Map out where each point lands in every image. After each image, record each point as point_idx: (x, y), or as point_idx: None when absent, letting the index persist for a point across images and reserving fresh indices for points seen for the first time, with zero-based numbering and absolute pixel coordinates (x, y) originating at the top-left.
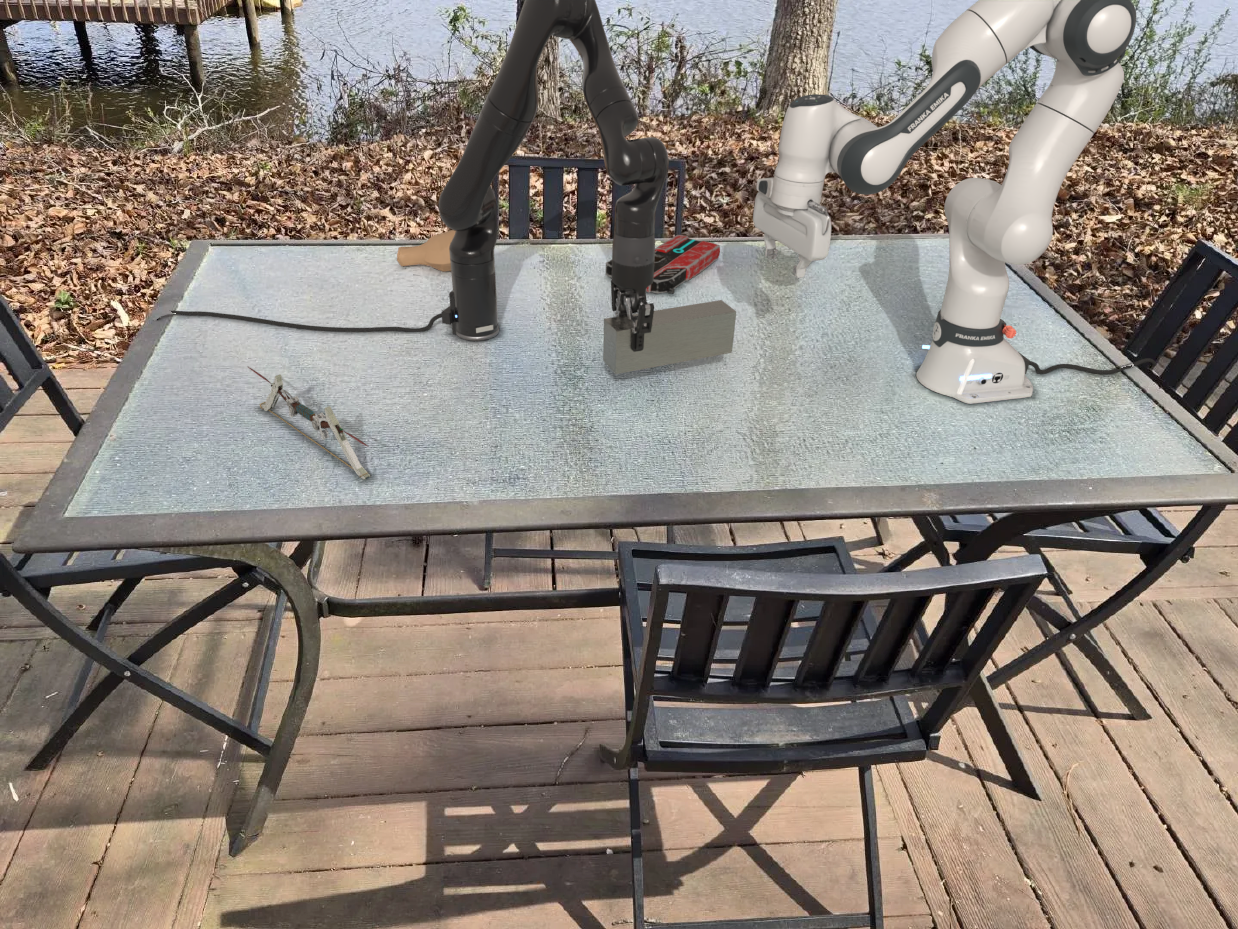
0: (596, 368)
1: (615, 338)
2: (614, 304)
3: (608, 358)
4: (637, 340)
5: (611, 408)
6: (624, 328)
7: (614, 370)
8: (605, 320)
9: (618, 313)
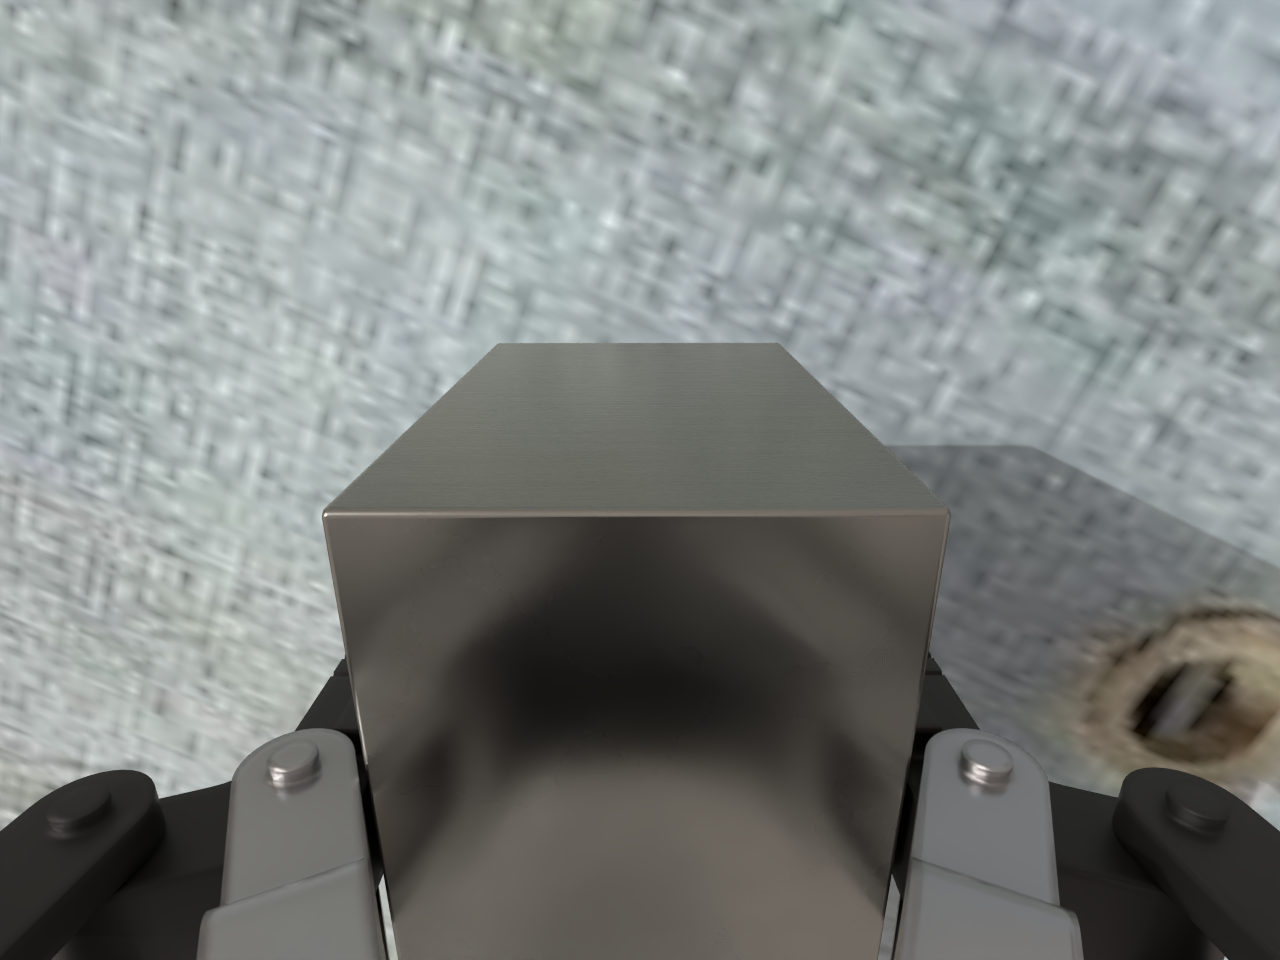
0: (1061, 402)
1: (417, 454)
2: (1212, 896)
3: (656, 358)
4: (314, 704)
5: (547, 282)
6: (400, 675)
7: (511, 347)
8: (869, 506)
9: (932, 806)
